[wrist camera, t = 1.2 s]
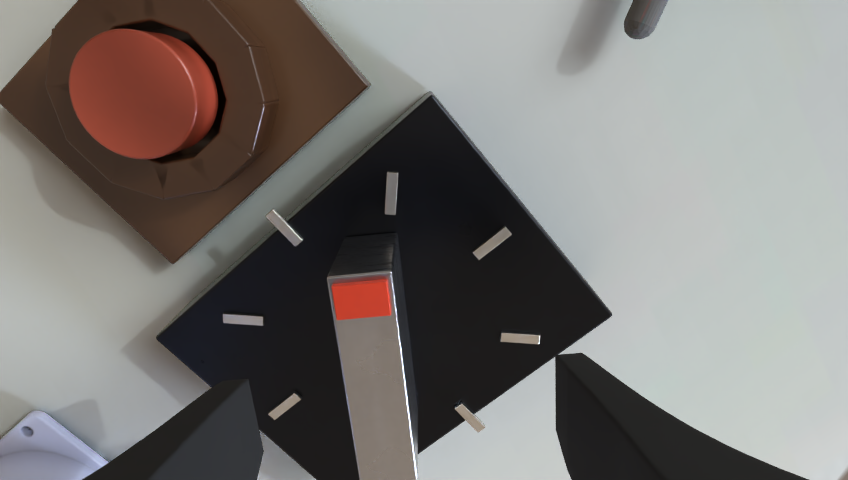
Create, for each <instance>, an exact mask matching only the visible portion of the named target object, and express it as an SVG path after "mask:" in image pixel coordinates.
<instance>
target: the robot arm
mask: <svg viewBox="0 0 848 480" xmlns="http://www.w3.org/2000/svg"><path fill="white" fill-rule="evenodd" d="M555 361H556V431H557V435H558V439H559V442H560V446H561V449H562V453H563V456H564V460H565V463H566V466H567V470H568V472H569V474H570V477H571V479H572V480H808V479H806V478H803V477H800V476H798V475H795V474H792V473H790V472H787V471H785V470H782V469H779V468H777V467H775V466H772V465H770V464H768V463H765V462H763V461H761V460H758V459H756V458H754V457H751V456H749V455H747V454H744V453H742V452H740V451H738V450H736V449H734V448H731V447H729V446H727V445H725V444H723V443H721V442H719V441H717V440H716V439H714V438H712V437H710V436H708V435H706V434H704V433H702V432H700V431H698V430H696V429H694V428H693V427H691V426H689V425H687V424H686V423H684V422H682V421H680V420H679V419H677V418H675V417H674V416H672V415H671V414H669V413H667V412H666V411H664V410H662V409H661V408H659V407H658V406H656V405H655V404H653V403H652V402H650V401H648V400H647V399H645V398H644V397H642V396H641V395H640V394H638V393H637V392H635V391H634V390H632V389H631V388H629V387H628V386H627V385H625V384H624V383H623V382H621V381H620V380H618V379H617V378H616V377H614V376H613V375H612V374H610V373H609V372H607V371H606V370H605V369H603V368H602V367H601V366H599V365H598V364H597V363H595V362H594V361H593V360H591V359H590V358H589V357H587V356H586V355H584V354H583V353H575V354H562V355H555ZM28 427H29V428H31V429H32V430H31V429H29V428H28ZM263 452H264V450H263V446H262V441H261V436H260V432H259V427H258V422H257V418H256V413H255V408H254V404H253V399H252V394H251V390H250V385H249V380H248V379H240V380H227V381H222V382H220V383H218V384H217V385H215V386H214V387H212V388H211V389H209V390H208V391H207V392H205V393H204V394H203V395H201V396H200V397H199V398H197V399H196V400H195V401H193V402H192V403H191V404H189V405H188V406H187V407H185V408H184V409H183V410H181V411H180V412H179V413H177V414H176V415H175V416H173V417H172V418H171V419H169V420H168V421H167V422H165V423H164V424H163V425H161V426H160V427H159V428H157V429H156V430H155V431H153V432H152V433H151V434H149V435H148V436H146V437H145V438H144V439H142V440H141V441H139V442H138V443H136V444H135V445H133V446H132V447H131V448H129V449H128V450H126V451H125V452H123V453H122V454H121V455H119V456H118V457H116V458H115V459H113V460H112V461H110V462H108V461H107V460H105V459H104V458H103V457H101V456H100V455H99V454H98V453H96V452H95V451H94V450H92V449H91V448H90V447H89V446H87V445H86V444H85V443H84V442H82V441H81V440H80V439H78V438H77V437H76V436H75V435H73V434H72V433H71V432H70V431H68V430H67V429H66V428H64V427H63V426H62V425H61V424H59V423H58V422H57V421H55V420H54V419H53V418H52V417H50V416H49V415H48V414H46V413H45V412H43V411H39V410H36V411H32V412H30V413H29V414H28V415H27V416H26V417H24V418H23V419H22V420H21V421H20V422H19V423H18V424H17V425H16V426H14V427H13V428H12V429H11V430H10V431H9V432H8V433H7V434H6V435H5V436H3V437H2V438H1V439H0V480H257V476H258V473H259V468H260V464H261V460H262V456H263Z"/></svg>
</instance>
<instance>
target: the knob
mask: <svg viewBox="0 0 848 480" xmlns="http://www.w3.org/2000/svg"><path fill="white" fill-rule="evenodd" d="M327 284H328V290H329V296H330V302H331V308H332V314H333V320H334V326H335V333H336V339H337V345H338V351H339V357H340V363H341V369H342V375H343V381H344V387H345V393H346V400H347V406H348V412H349V418H350V424H351V430H352V436H353V442H354V448H355V454H356V460H357V466H358V473H359V479H360V480H416V479H417V477H418V406H417V397H416V389H415V380H414V371H413V363H412V354H411V346H410V337H409V328H408V320H407V311H406V302H405V294H404V285H403V277H402V268H401V259H400V251H399V242H398V234H397V233H386V234H376V235H365V236H354V237H346V238H344V240H343V242H342V245H341V247H340V249H339V251H338V254H337V256H336V258H335V260H334V263H333V265H332V267H331V269H330V272H329V274H328V276H327Z"/></svg>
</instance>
